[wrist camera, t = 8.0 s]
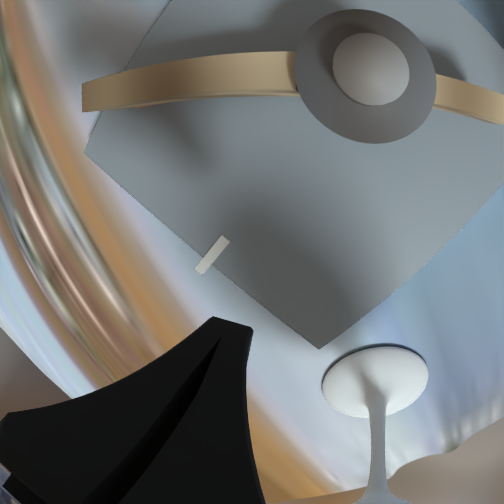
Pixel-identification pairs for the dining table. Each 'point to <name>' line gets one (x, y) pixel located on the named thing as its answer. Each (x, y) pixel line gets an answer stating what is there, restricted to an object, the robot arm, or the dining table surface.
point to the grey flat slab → (305, 163)
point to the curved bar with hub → (317, 80)
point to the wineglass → (376, 401)
